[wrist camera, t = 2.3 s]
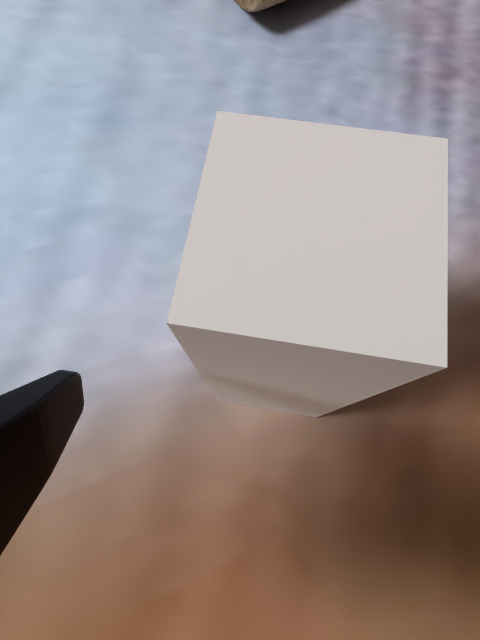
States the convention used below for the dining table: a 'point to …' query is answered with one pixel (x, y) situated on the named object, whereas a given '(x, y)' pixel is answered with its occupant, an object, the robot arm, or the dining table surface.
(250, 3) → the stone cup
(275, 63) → the dining table surface
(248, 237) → the pillar
